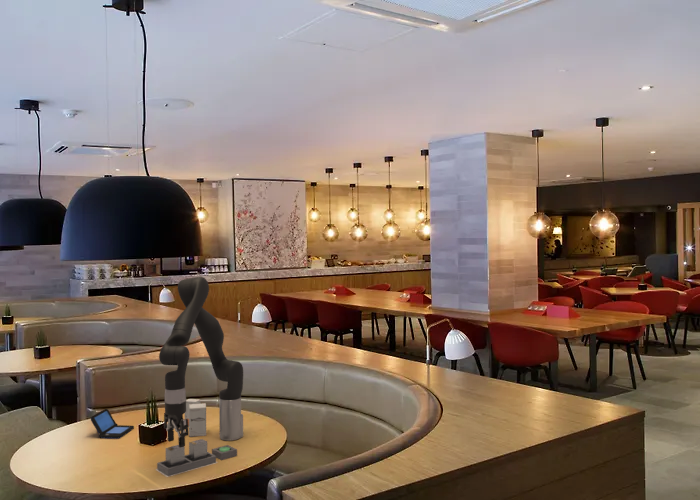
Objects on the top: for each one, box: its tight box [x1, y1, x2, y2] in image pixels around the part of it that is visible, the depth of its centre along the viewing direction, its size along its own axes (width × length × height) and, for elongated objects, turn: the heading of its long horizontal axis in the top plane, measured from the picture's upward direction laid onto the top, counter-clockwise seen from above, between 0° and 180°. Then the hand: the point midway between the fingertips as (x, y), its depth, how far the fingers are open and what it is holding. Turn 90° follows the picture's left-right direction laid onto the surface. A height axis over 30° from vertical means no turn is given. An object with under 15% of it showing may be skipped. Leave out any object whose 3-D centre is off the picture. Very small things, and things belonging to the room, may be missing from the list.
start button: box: [219, 446, 230, 452], centre depth 238 cm, size 4×4×2 cm
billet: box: [165, 444, 186, 468], centre depth 224 cm, size 6×4×8 cm
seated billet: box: [188, 438, 208, 462], centre depth 230 cm, size 6×4×8 cm
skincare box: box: [184, 398, 201, 428], centre depth 279 cm, size 6×4×12 cm
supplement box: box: [188, 402, 207, 438], centre depth 267 cm, size 7×7×13 cm
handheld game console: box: [90, 408, 135, 440], centre depth 269 cm, size 16×13×9 cm
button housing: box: [211, 444, 238, 461], centre depth 238 cm, size 7×7×4 cm
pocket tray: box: [155, 451, 219, 478], centre depth 227 cm, size 20×10×4 cm, turn 133°
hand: (176, 443), depth 224 cm, fingers open, 8 cm apart
